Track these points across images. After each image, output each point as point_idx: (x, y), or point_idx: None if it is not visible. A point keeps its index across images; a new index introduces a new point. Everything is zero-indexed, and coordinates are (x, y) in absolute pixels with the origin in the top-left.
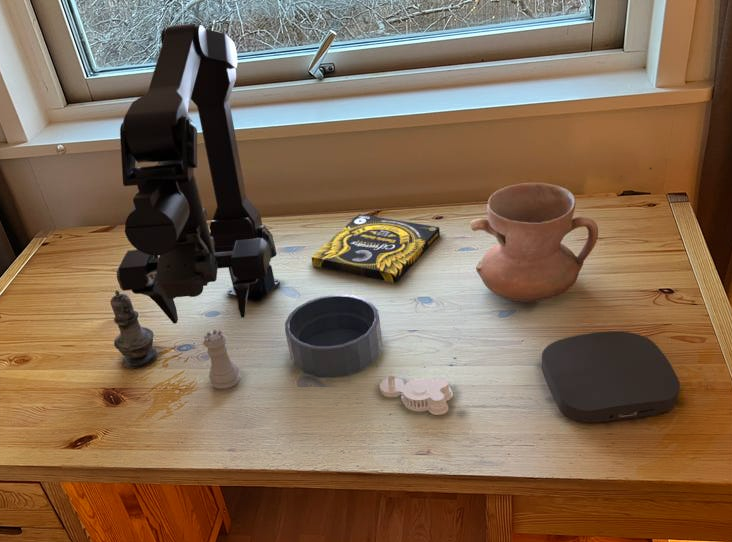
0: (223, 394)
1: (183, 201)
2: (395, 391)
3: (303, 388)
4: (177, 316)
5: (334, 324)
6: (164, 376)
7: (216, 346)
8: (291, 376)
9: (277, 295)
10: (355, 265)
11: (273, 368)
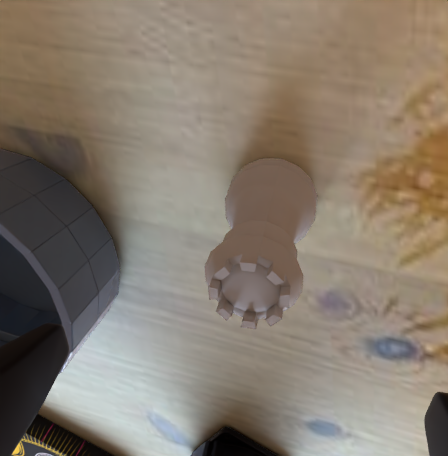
0: (275, 140)
1: None
2: None
3: (63, 129)
4: (428, 440)
5: (41, 318)
6: None
7: (239, 239)
8: (104, 182)
9: (191, 430)
10: (52, 447)
11: (154, 221)
